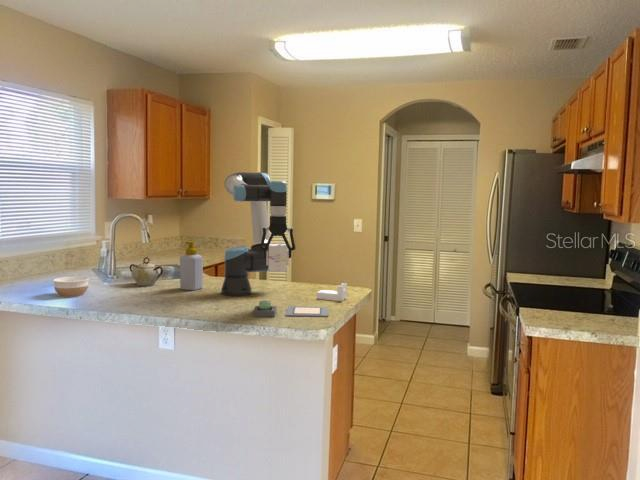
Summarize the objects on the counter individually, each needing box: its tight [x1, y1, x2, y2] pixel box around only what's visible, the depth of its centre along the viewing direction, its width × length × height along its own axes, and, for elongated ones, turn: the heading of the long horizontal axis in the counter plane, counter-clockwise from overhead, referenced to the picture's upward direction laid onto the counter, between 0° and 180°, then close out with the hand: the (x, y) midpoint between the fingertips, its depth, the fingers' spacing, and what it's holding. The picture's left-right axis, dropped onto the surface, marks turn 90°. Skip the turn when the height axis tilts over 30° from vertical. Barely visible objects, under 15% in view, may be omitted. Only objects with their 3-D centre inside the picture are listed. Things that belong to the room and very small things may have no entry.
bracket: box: [316, 283, 348, 302], centre depth 260 cm, size 13×7×8 cm, turn 70°
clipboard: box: [285, 305, 329, 318], centre depth 232 cm, size 18×16×1 cm
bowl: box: [52, 275, 90, 298], centre depth 259 cm, size 16×16×8 cm
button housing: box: [252, 305, 277, 318], centre depth 227 cm, size 9×9×2 cm
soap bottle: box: [179, 240, 204, 291], centre depth 277 cm, size 9×9×25 cm
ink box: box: [267, 240, 288, 273], centre depth 241 cm, size 9×8×13 cm
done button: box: [258, 300, 272, 310], centre depth 226 cm, size 5×5×3 cm
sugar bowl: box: [129, 256, 164, 287], centre depth 288 cm, size 20×15×15 cm
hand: (277, 265), depth 242 cm, fingers closed on ink box, 9 cm apart
